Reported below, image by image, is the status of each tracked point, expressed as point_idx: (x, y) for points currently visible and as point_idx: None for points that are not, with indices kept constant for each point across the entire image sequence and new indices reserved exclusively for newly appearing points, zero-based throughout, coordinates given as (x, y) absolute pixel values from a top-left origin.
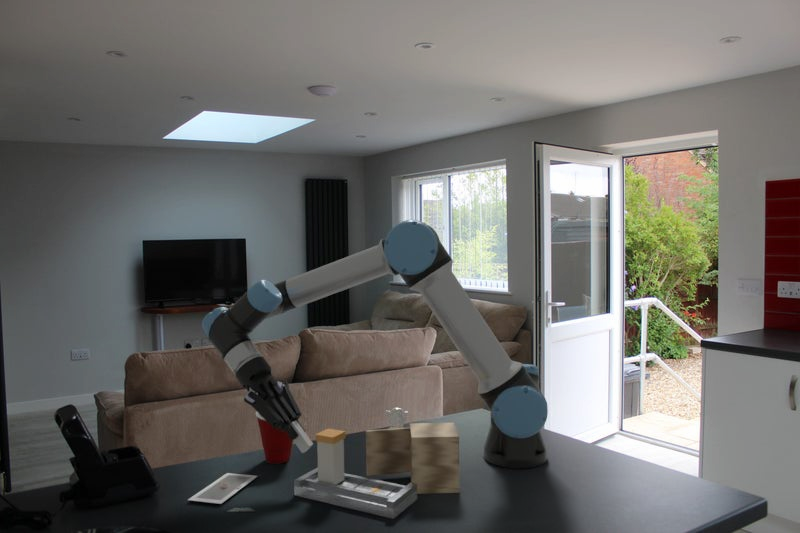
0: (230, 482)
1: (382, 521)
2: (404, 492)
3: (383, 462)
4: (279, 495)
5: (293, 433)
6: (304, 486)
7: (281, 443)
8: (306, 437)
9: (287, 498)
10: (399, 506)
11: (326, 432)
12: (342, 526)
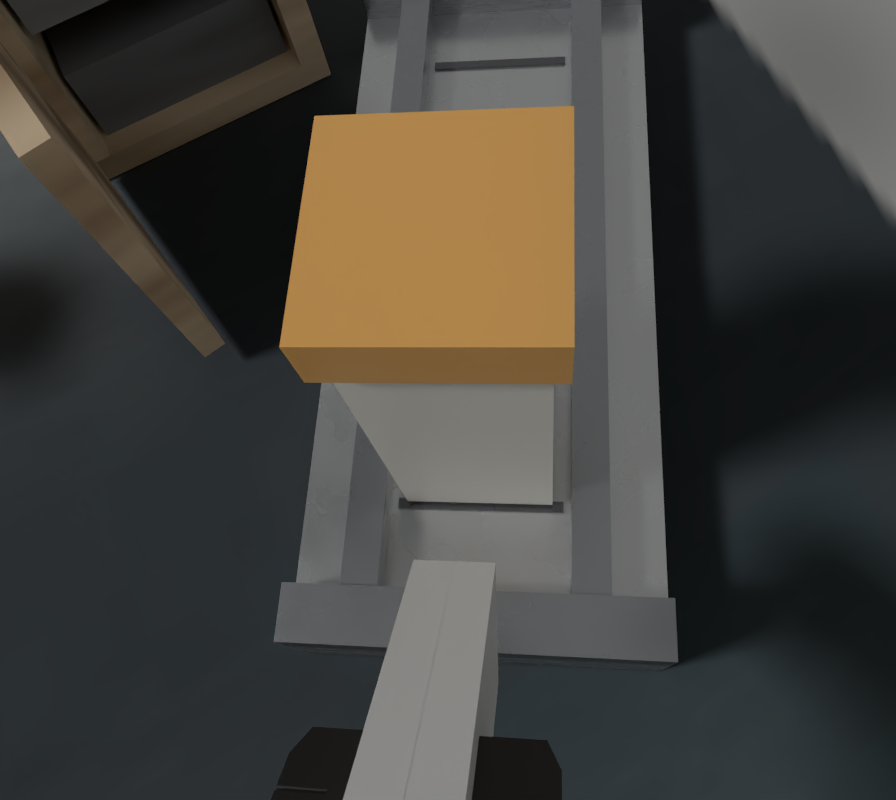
0: None
1: (685, 44)
2: None
3: (135, 224)
4: (723, 787)
5: (548, 790)
6: (641, 577)
7: None
8: (429, 631)
9: (732, 686)
10: None
11: (438, 269)
12: (848, 161)
